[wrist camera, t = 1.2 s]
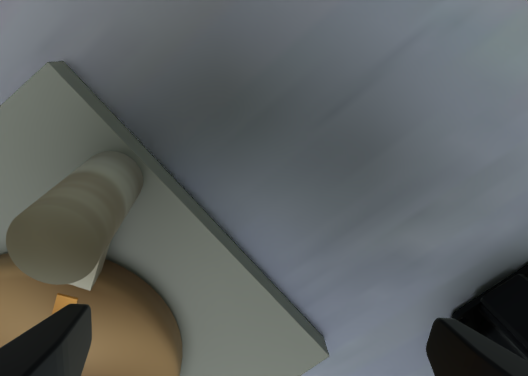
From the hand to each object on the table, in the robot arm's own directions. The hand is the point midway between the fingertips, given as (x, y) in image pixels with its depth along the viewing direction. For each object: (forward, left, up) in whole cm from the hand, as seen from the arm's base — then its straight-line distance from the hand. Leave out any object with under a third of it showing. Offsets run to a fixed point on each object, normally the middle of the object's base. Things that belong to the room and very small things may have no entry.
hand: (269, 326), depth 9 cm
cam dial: (+1, +11, -9) cm, 14 cm away
